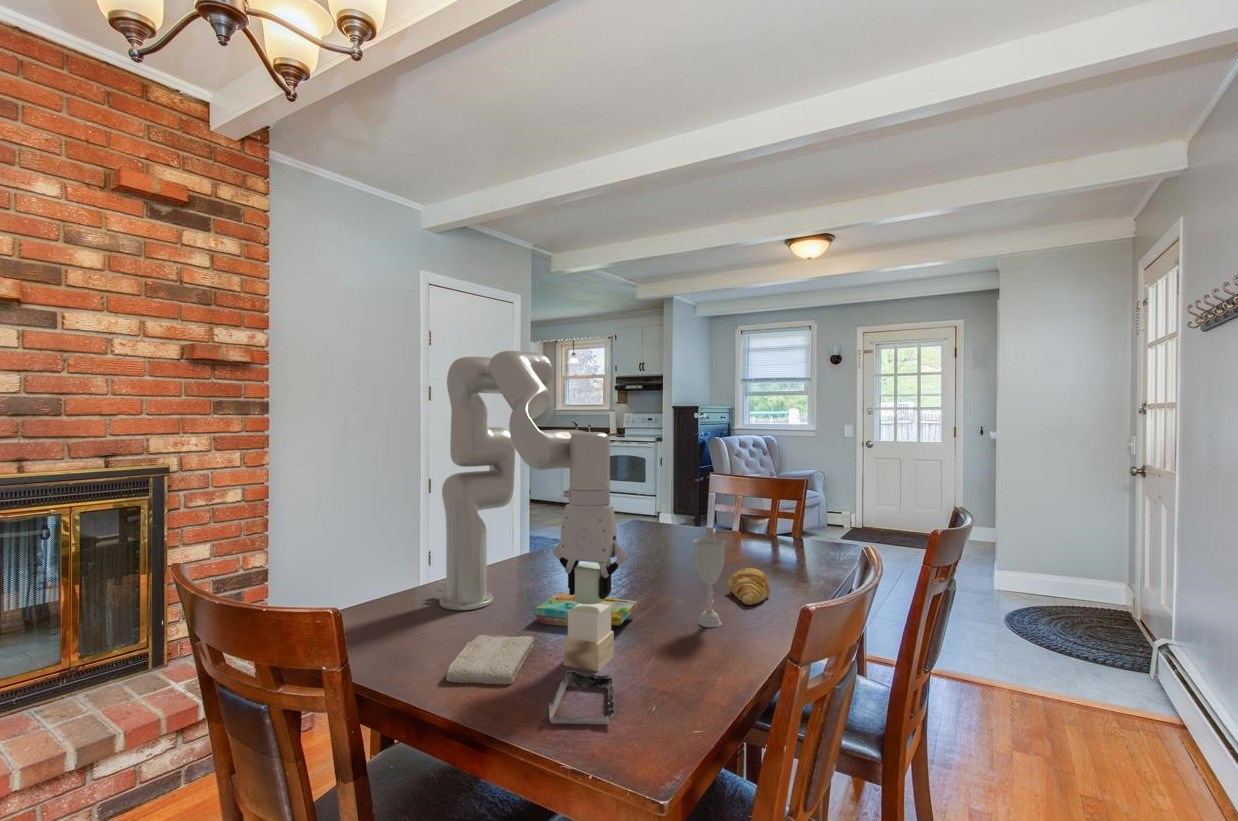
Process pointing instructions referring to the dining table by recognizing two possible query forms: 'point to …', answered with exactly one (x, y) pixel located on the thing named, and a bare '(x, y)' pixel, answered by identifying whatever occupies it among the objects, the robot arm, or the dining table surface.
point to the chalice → (709, 573)
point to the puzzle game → (561, 602)
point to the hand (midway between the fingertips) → (589, 594)
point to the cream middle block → (589, 622)
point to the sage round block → (587, 584)
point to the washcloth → (490, 660)
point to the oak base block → (588, 652)
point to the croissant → (749, 585)
